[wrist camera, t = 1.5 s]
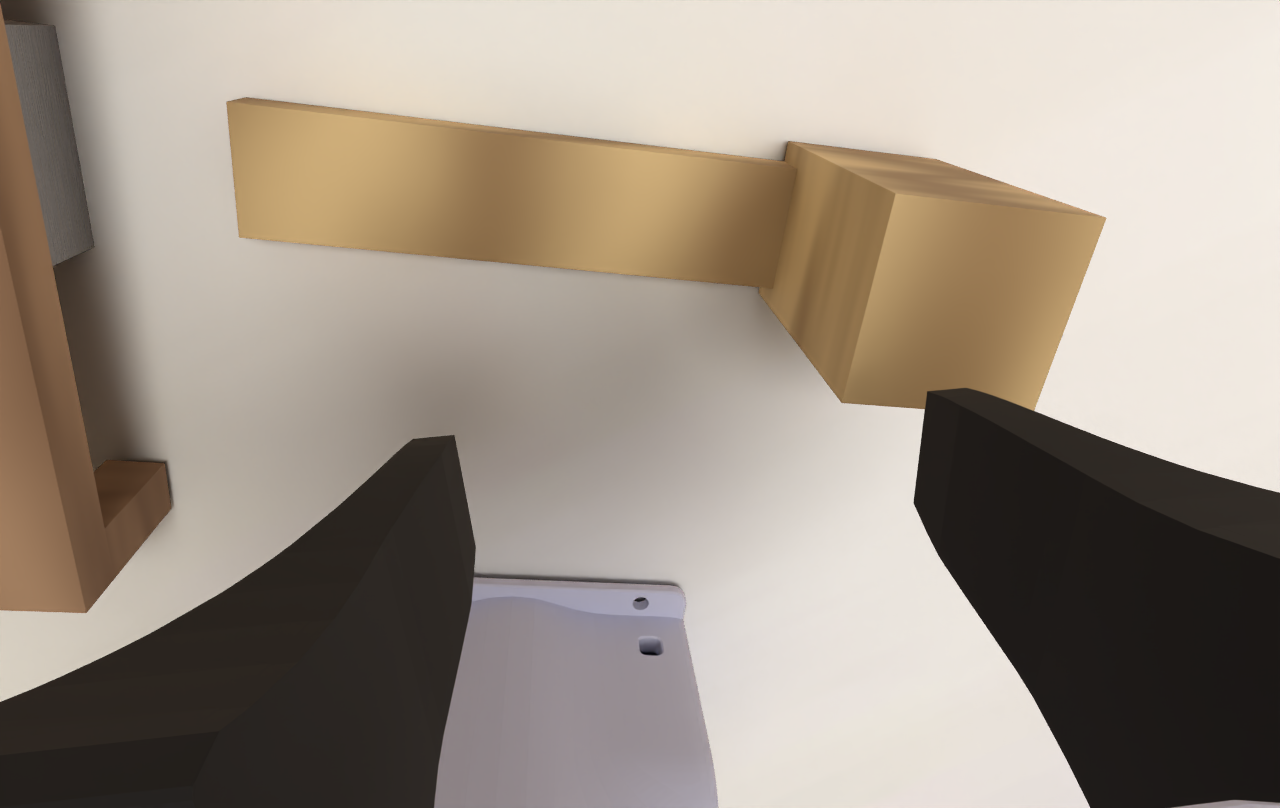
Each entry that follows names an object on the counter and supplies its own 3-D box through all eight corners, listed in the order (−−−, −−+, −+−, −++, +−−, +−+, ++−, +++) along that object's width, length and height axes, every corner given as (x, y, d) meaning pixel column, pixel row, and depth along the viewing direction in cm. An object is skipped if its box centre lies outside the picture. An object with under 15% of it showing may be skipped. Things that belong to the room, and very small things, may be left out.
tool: (936, 159, 20) (1106, 218, 14) (895, 305, 22) (1031, 416, 16) (244, 74, 18) (72, 97, 12) (258, 245, 20) (116, 347, 13)
